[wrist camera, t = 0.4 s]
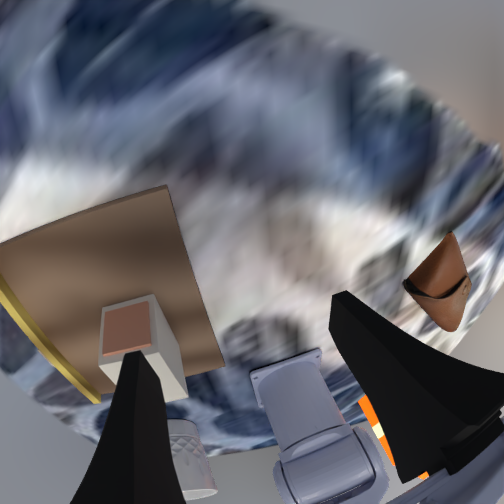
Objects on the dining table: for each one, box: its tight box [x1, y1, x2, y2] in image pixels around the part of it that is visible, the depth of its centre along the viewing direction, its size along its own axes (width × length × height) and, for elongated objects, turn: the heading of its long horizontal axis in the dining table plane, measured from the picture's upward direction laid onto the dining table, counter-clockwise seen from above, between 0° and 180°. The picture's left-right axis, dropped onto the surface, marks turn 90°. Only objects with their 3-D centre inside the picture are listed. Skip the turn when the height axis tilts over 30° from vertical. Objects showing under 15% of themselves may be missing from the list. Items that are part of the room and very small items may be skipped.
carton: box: [98, 294, 188, 402], centre depth 19 cm, size 4×6×5 cm, turn 7°
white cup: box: [167, 419, 218, 500], centre depth 30 cm, size 8×8×10 cm
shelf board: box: [0, 185, 225, 404], centre depth 20 cm, size 18×14×2 cm
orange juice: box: [358, 395, 429, 479], centre depth 40 cm, size 8×9×20 cm
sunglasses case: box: [404, 231, 471, 332], centre depth 32 cm, size 18×7×7 cm
